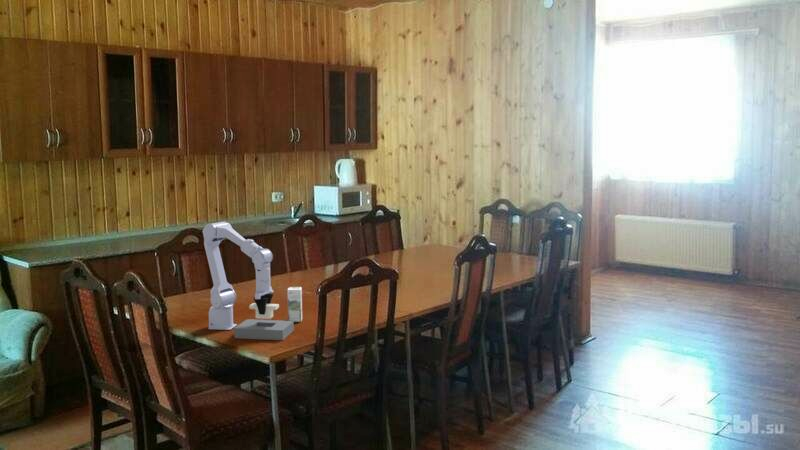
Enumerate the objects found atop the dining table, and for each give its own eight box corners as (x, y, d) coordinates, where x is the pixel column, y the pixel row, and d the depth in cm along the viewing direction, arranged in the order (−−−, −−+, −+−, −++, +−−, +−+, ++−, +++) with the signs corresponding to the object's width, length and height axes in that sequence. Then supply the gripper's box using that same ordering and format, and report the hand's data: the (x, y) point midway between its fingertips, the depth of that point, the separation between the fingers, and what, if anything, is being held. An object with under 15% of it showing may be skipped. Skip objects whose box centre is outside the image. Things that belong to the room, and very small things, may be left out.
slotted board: (234, 338, 288) (234, 328, 287) (247, 328, 301) (247, 319, 301) (283, 340, 285) (282, 330, 284) (293, 330, 298) (293, 321, 298)
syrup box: (302, 318, 317) (301, 286, 315) (301, 322, 311) (300, 289, 309) (289, 319, 316) (288, 286, 314) (287, 322, 311) (287, 289, 309)
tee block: (249, 318, 291) (249, 305, 290) (253, 315, 295) (252, 303, 294) (276, 319, 289) (275, 306, 288) (279, 316, 293) (278, 304, 292)
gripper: (266, 283, 282) (267, 317, 284) (278, 276, 296) (279, 308, 298) (249, 283, 283) (250, 317, 285) (262, 275, 298) (262, 308, 299)
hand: (264, 312), depth 292 cm, fingers closed on tee block, 4 cm apart
